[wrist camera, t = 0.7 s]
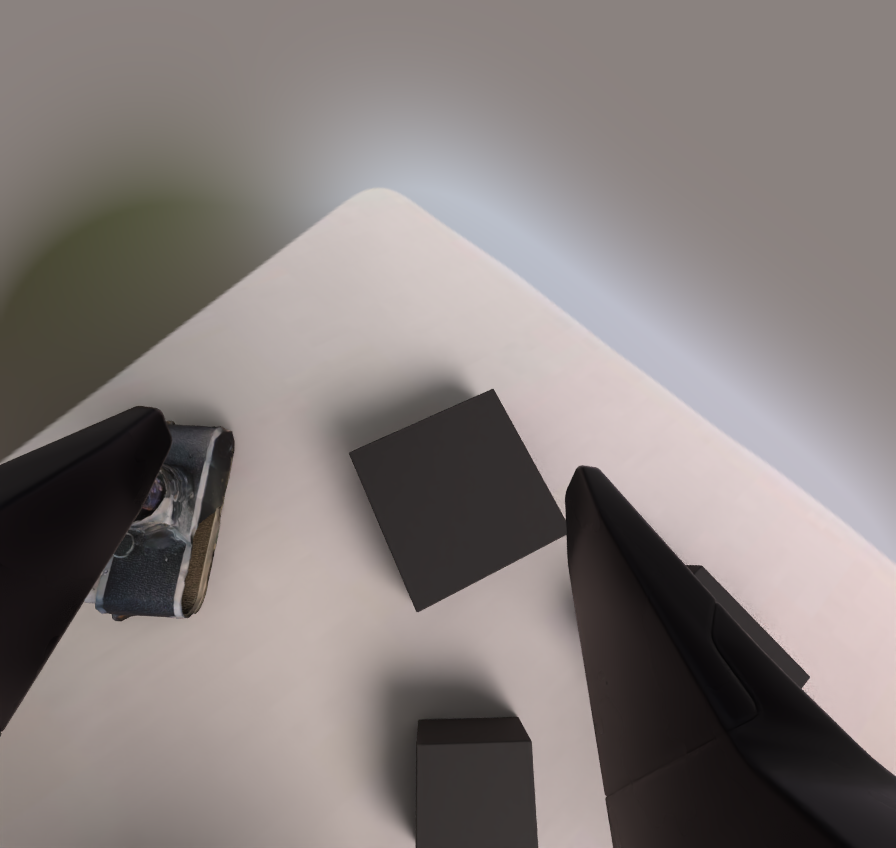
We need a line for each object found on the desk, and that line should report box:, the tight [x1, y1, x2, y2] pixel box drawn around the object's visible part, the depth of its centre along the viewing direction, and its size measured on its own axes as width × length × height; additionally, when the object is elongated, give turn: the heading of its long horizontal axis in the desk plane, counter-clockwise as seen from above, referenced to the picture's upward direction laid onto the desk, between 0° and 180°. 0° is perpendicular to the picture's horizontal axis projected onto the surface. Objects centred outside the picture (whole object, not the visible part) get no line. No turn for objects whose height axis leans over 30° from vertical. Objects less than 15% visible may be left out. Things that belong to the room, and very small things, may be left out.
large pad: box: [349, 389, 567, 612], centre depth 23 cm, size 8×8×3 cm
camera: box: [85, 421, 234, 621], centre depth 22 cm, size 5×10×4 cm, turn 176°
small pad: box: [416, 717, 538, 848], centre depth 19 cm, size 5×5×3 cm
